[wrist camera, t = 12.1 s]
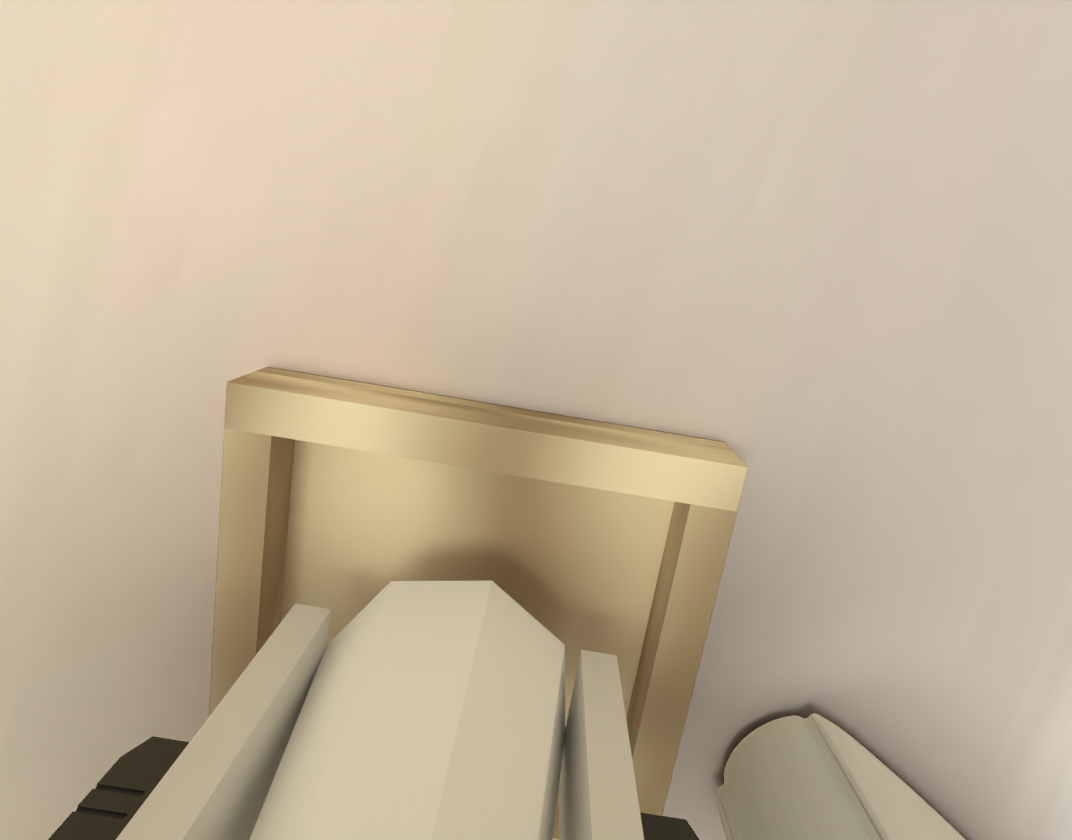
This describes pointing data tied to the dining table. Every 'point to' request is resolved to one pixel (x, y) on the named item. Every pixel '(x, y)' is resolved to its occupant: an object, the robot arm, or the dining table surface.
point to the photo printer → (818, 789)
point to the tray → (476, 530)
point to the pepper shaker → (427, 724)
